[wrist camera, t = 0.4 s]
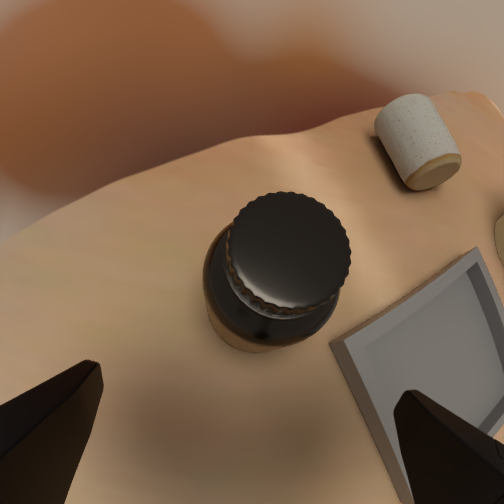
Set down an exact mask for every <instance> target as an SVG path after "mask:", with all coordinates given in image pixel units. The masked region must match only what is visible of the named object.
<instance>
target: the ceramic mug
mask: <svg viewBox="0 0 504 504" xmlns="http://www.w3.org/2000/svg"><path fill="white" fill-rule="evenodd" d="M374 129H375V132H376V133H377V135H378V137H379V138H380V140H381V142H382V144H383V145H384V147H385V149H386V151H387V153H388V155H389V156H390V158H391V160H392V162H393V164H394V166H395V168H396V169H397V171H398V173H399V175H400V177H401V179H402V180H403V181H404V183H405V184H406V185H407V187H408V188H410V189H413V190H425V189H429V188H432V187H434V186H437V185H439V184H441V183H443V182H445V181H446V180H448V179H449V178H451V177H452V176H453V175H454V174H455V173H456V172H457V171H458V170H459V168H460V166H461V163H462V160H461V156H460V153H459V150H458V147H457V145H456V143H455V141H454V139H453V137H452V136H451V134H450V132H449V131H448V129H447V127H446V125H445V123H444V122H443V120H442V118H441V116H440V115H439V113H438V111H437V110H436V108H435V106H434V105H433V103H432V102H431V100H430V99H429V98H428V97H427V96H425V95H422V94H409V95H404V96H401V97H399V98H397V99H395V100H393V101H392V102H390V103H388V104H387V105H386V106H385V107H384V108H383V109H382V110H381V111H380V113H379V114H378V115H377V117H376V119H375V122H374Z"/></svg>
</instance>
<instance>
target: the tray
mask: <svg viewBox="0 0 504 504" xmlns="http://www.w3.org/2000/svg"><path fill="white" fill-rule="evenodd" d="M329 345H330V347H331V349H332V351H333V353H334V355H335V357H336V359H337V361H338V363H339V366H340V368H341V370H342V372H343V374H344V376H345V378H346V380H347V382H348V385H349V387H350V389H351V391H352V393H353V395H354V397H355V400H356V402H357V404H358V406H359V408H360V410H361V413H362V415H363V417H364V419H365V421H366V423H367V426H368V428H369V430H370V432H371V434H372V437H373V439H374V441H375V443H376V446H377V448H378V450H379V452H380V455H381V457H382V459H383V461H384V464H385V466H386V468H387V471H388V473H389V475H390V477H391V480H392V482H393V484H394V487H395V489H396V491H397V494H398V496H399V499H400V501H401V503H403V504H414V500H413V496H412V492H411V488H410V484H409V481H408V477H407V473H406V470H405V466H404V463H403V459H402V456H401V452H400V447H399V441H398V436H397V431H396V426H395V421H394V416H393V411H394V408H395V406H396V404H397V402H398V401H399V399H400V397H401V395H402V394H403V392H404V391H406V390H413V389H416V390H418V391H420V392H421V393H423V394H425V395H426V396H428V397H429V398H431V399H432V400H434V401H435V402H437V403H438V404H440V405H442V406H443V407H445V408H446V409H448V410H449V411H451V412H452V413H454V414H456V415H457V416H459V417H460V418H462V419H463V420H465V421H467V422H468V423H470V424H471V425H473V426H475V427H476V428H478V429H479V430H481V431H483V432H484V433H486V434H487V435H489V436H491V437H492V438H493V437H494V435H495V434H496V433H497V432H498V430H499V429H500V428H501V427H502V425H503V424H504V308H503V305H502V302H501V300H500V297H499V294H498V292H497V289H496V287H495V285H494V282H493V280H492V278H491V275H490V273H489V271H488V268H487V266H486V264H485V262H484V260H483V258H482V255H481V253H480V251H479V249H478V247H475V248H473V249H471V250H470V251H468V252H466V253H464V254H462V255H461V256H459V257H458V258H457V259H455V260H454V261H453V262H451V263H450V264H449V265H448V266H446V267H445V268H444V269H442V270H441V271H440V272H438V273H437V274H435V275H434V276H433V277H431V278H430V279H429V280H427V281H426V282H424V283H423V284H422V285H420V286H419V287H417V288H416V289H414V290H413V291H412V292H410V293H409V294H407V295H406V296H404V297H403V298H401V299H400V300H398V301H397V302H395V303H394V304H392V305H391V306H389V307H388V308H386V309H384V310H383V311H381V312H380V313H378V314H377V315H375V316H373V317H372V318H370V319H369V320H367V321H365V322H364V323H362V324H360V325H359V326H357V327H355V328H354V329H352V330H350V331H349V332H347V333H345V334H344V335H342V336H340V337H338V338H337V339H335V340H333V341H331V342H330V343H329Z"/></svg>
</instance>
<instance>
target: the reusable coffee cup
mask: <svg viewBox="0 0 504 504" xmlns="http://www.w3.org/2000/svg"><path fill="white" fill-rule="evenodd" d="M494 234H495V243H496V247H497V251H498V254H499V257H500V260H501V262H502V264H503V266H504V215H503V216H502V217H501V218H499V219H498V220H497V222H496V225H495V231H494Z"/></svg>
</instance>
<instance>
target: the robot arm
mask: <svg viewBox="0 0 504 504" xmlns="http://www.w3.org/2000/svg"><path fill="white" fill-rule="evenodd" d="M103 387H104V384H103V378H102V372H101V367H100V364H99V363H98V362H95V361H91V360H83V361H82V362H80V363H78V364H76V365H74V366H73V367H71V368H69V369H67V370H65V371H63V372H62V373H60V374H58V375H56V376H54V377H52V378H51V379H49V380H47V381H45V382H43V383H41V384H39V385H38V386H36V387H34V388H32V389H30V390H28V391H26V392H25V393H23V394H21V395H19V396H17V397H15V398H13V399H12V400H10V401H8V402H6V403H4V404H2V405H0V504H64V503H65V500H66V497H67V494H68V491H69V489H70V486H71V483H72V480H73V478H74V475H75V472H76V470H77V467H78V464H79V462H80V459H81V457H82V454H83V452H84V449H85V447H86V444H87V442H88V439H89V437H90V434H91V431H92V427H93V424H94V420H95V416H96V413H97V409H98V406H99V403H100V399H101V396H102V393H103ZM393 416H394V421H395V426H396V431H397V436H398V441H399V447H400V452H401V456H402V459H403V463H404V466H405V470H406V473H407V477H408V481H409V484H410V488H411V492H412V496H413V500H414V504H504V444H502V443H500V442H499V441H497V440H496V439H493V438H492V437H491V436H489V435H487V434H486V433H484V432H483V431H481V430H479V429H478V428H476V427H475V426H473V425H471V424H470V423H468V422H467V421H465V420H463V419H462V418H460V417H459V416H457V415H456V414H454V413H452V412H451V411H449V410H448V409H446V408H445V407H443V406H442V405H440V404H438V403H437V402H435V401H434V400H432V399H431V398H429V397H428V396H426V395H425V394H423V393H421V392H420V391H418V390H416V389H413V390H406V391H404V392H403V394H402V395H401V397H400V399H399V401H398V402H397V404H396V406H395V408H394V411H393Z"/></svg>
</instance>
